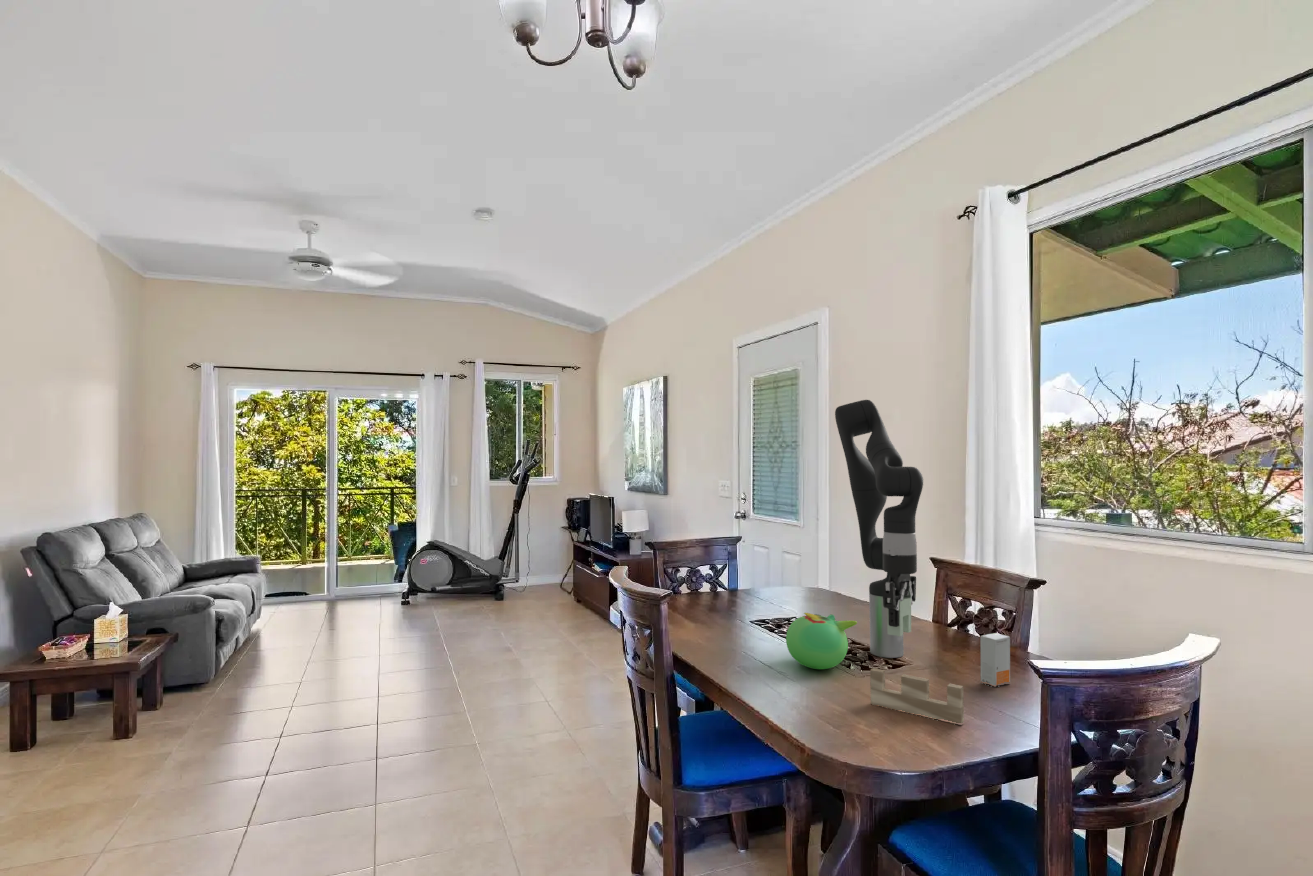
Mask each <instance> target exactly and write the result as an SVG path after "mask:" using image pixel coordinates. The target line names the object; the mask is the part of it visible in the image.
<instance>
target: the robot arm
mask: <svg viewBox="0 0 1313 876" xmlns="http://www.w3.org/2000/svg"><path fill="white" fill-rule="evenodd" d="M834 416H835V417H834V418H835V419H834V420H835V422H836V427H837V432H838V435H839V439H840V443H841V445H842V449H843V453H844V457H845V461H846V467H847V472H848V477H849V478H848V479H849V484H850V488H851V493H852V498H853V502H854V507H855V512H856V516H857V521H858V527H859V537H860V546H861V547H860V548H861V554H862V559H863V563H864V564H865V566H866V567H868V568H869V569H871V570H877V571H883V572H886V577H885V578H883V579H880V580H876V581H875V580H874V581H872V582H871V583H870V584H869V585H868V591H869V592H868V594H869V595H868V596H869V598H868V599H869V604H868V605H869V650H870V651H869V653H870V654H872V655H874V656H876V657H881V658H891V659H892V658H900V657H903V656H904V634H903V635H902V636H895V635H889V634H888V630H887V609H889V610H888V612H889V626H893V627H898V626H899V601H903V597H908V598H911V606H913V604H914V603H913V602H916V597H917V595H916V594H917V577H916V576H915V575H913V574H916V573H917V569H918V564H917V563H918V559H917V558H918V557H917V556H918V555H917V552H918V550H917V543H918V542H917V536H916V515H917V510H918V505H919V501H920V499H921V496H922V491H923V489H924V477H923V474H922V471H920V470H919V469H918V468H917V467H915V466H903V465H904V461H903V458H902V456H901V454H900V453H899V451H898V450H897V448H896V447H895V445H894V444H893V442H892V441H891V439H890V437H889V434H888V431H887V429H886V426H885V425H884V422H883V420H882V417H881V415H880V412H879V410H878V408H877V406H876V405H875V403H874V402H873V401H871V400H870V399H862V400H858V401H854V402H849V403H846V404H841V405H839V406H837V407H836V408H835V411H834ZM865 434H870V436H869V438H868V440H867V442H866V444H865V445H866V446H865V454H866V456H865V455H864V454H863V453H862V452H861V450H860V449H859V448H858V447H857V445H856V443H855V441H854V437H859V436H862V435H865ZM888 497H903V498H902V500H901V502H900V503H899V504H897V505H893V506H890V507H889V506H888V507H886V508H884V507H885V505H886V503H887V499H888ZM883 509H884V511H883ZM882 511H883V537H878V535H877V532H876V530H877V529H876V525H877V521H878V519H879V516H880V515H881V513H882ZM887 599H888V602H887Z"/></svg>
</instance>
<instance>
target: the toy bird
mask: <svg viewBox="0 0 1313 876" xmlns="http://www.w3.org/2000/svg"><path fill="white" fill-rule="evenodd" d="M803 614H804V615H802V616H800V617H798V618H796V619H795V620H793V621H792V622H791V624H790V625H789V627H788V629H787V631H786V635H785V636H786V637H785V641H786V647H787V650H788V653H789V654H790V656H791V657H792V659H794V660H795V661H796V662H797V663H799V664H800V665H802V666H804V667H807V668H809V669H814V670H828V669H831V668H834V667H836V666H838V665H839V664H841V663H842V662H843V660H844V659H845V657H846V655H847V653H848V648H849V642H848V641H849V640H848V638H847V634H846V632H845V630H848V629H850V628H852V627H854V626H855V625H857V624H858V621H857V620H836V616H835V615H834V614H829V615H828V616H825V615H821V614H817V613H814V614H813V613H809V612H804V613H803Z"/></svg>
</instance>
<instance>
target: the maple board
mask: <svg viewBox="0 0 1313 876" xmlns="http://www.w3.org/2000/svg"><path fill="white" fill-rule="evenodd" d="M869 671H870V673H869V674H870V675H869V678H870V705H871V704H872V706H875V705H879V706H883V707H887V708H886V709H888V708H891V709H890V710H892V709H895V710H894V711H896V710H902V711H905V712H909V713H914V714H921V715H925V716H928V717H932V718H936V719H944V720H948V721H952V722H956V723H963V722H964V719H965V716H964V715H965V713H964V705H965V704H964V685H958V684H954V683H948V684H947V685H946V689H947V690H946V695H947V696H946V698H947V701H944V700H939V699H934V698H930V679H929V678H925V677H919V676H915V675H909V674H904V673H903V674H902V675H901V676H900V682H901V683H900V685H901V686H900V687H901V691H898V690H894V689H891V688H890V689H889V688H886V669H880V668H876V667H875V668H874V667H873V668H871V669H870V670H869ZM879 706H878V707H879ZM883 707H882V708H883ZM964 723H965V722H964Z"/></svg>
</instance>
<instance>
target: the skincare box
mask: <svg viewBox="0 0 1313 876" xmlns="http://www.w3.org/2000/svg"><path fill="white" fill-rule="evenodd" d="M981 681H982V682H987V683H989V684H992V685H998V684H1001V683H1004V682H1010V683H1011V637H1010V636H1009V635H1005V634H1000V633H997V632H995V633H987V634H983V635H980V682H981Z"/></svg>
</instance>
